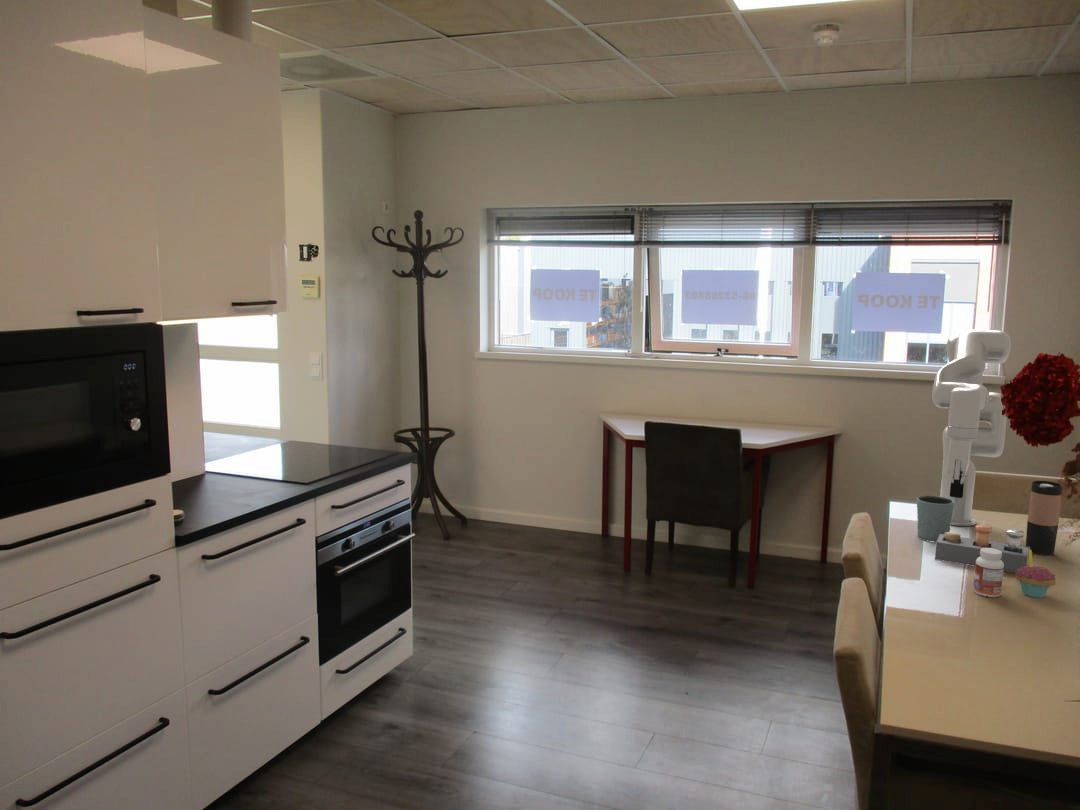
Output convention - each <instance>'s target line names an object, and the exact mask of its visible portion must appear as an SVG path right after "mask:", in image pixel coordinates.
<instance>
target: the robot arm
mask: <svg viewBox="0 0 1080 810" xmlns="http://www.w3.org/2000/svg"><path fill="white" fill-rule="evenodd" d="M1011 350H1012V342H1011V337H1010V335H1009V334H1008V332H1006V331H1003V330H996V329H994V330H993V329H991V330H990V329H968V330H964V331H961V332H960V333H959V334H958V335H952V336H950V337H949V338H948V340H947V342H946V353H947V359H948V363H947V364H945V365H944V366H942V367H941V368H940V369H939V370H938V371H937V372H936V374H935V377H934V381H933V386H932V392H931V393H932V394H931V396H932V397H931V399H932V403H933V405H934V406H936V407H937V408H940V409H948V419H947V420H948V421H947V426H945V428H944V430H943V432H942V449H943V450H942V451H943V453H942V455H943V458H942V472H941V473H942V474H941V483H940V494H939V496H940V497H946V498H949V499H952V500H953V501H954V507H953V512H952V518H951V526H959V527H960V526H961V527H969V526H974V525H975V526H976V525H977V519H976V518H975V517H973V516H972V512H973V511H972V510H973V503H974V502H973V500H974V492H975V482H976V472H977V470H976V466H975V464H974V463H973V461H972V460H971V456H977V457H986V458H998V457H1001V455H1002V454H1003V452H1004V448H1005V441H1006V431H1007V430H1006V429H1007V420H1008V419H1007V417H1005V416H1003V415H1002V410H1003V405H1002V402H1001V394H1002V393H1000V392H993V391H989V390H988V389H987V387H986V386H984V385H983V384H984V383H983V381H984V376H983V373H984V371H985V369H986V366H987V365H986V364H994V365H997V364H1004V363H1005V362H1006V361H1007V360H1008V358H1009V355H1010V354H1011ZM982 422H983V423H987V424H989V426H985V425H984V426H983V425H980V423H982Z"/></svg>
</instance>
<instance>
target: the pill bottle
mask: <svg viewBox="0 0 1080 810" xmlns="http://www.w3.org/2000/svg"><path fill="white" fill-rule="evenodd" d="M980 555H981V557H978V558H977V560H976V565H975V566H974V575H973V584H972V585H973V586H972V590H973V592H974V593H976V594H977V595H980V596H982V595H983V596H982V597H986V596H988V597H987V598H997V597H1000V596H1001V595H1002V587H1003V578H1004V571H1003V570H1004V563H1003V562H1002V561H1001V560H1000V559H1001V557H1002V552H1001V551H1000V550H997V549H993V548H981V550H980Z"/></svg>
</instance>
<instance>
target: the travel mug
mask: <svg viewBox="0 0 1080 810" xmlns="http://www.w3.org/2000/svg"><path fill="white" fill-rule="evenodd" d="M1062 493H1063V484H1061V483H1058V482H1054V481H1047V480H1046V481H1045V480H1034V481H1032V482H1031V491H1030V495H1029V496H1030V497H1029V498H1030V499H1029V504H1028V511H1027V512H1028V513H1027V522H1026V536H1025V537H1026V538H1025V547H1028V550H1029V547H1030V549H1031V551H1032V554H1035V553H1036V555H1040V554H1043V555H1042V556H1051V555H1050V554H1052V555H1054V554H1053V553H1055V547H1056V542H1057V536H1058V529H1059V522H1060V511H1061V505H1062V504H1061V503H1062Z"/></svg>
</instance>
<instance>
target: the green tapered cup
mask: <svg viewBox="0 0 1080 810" xmlns="http://www.w3.org/2000/svg"><path fill="white" fill-rule="evenodd" d="M953 507H954V501H953V500H952V499H949V498H946V497H940V495H930V494H929V495H920V496H918V497H917V498H916V508H917V509H916V514H917V529H916V530H917V538H918V539H920V538H921V540H923V539H924V540H923V541H926V540H928V541H927V542H930V541H934V542H933V543H936V542H937V539H938V537H939V535H940V534H945V532H951V531H950V530H951V526H952V525H951V518H952V512H953Z"/></svg>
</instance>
